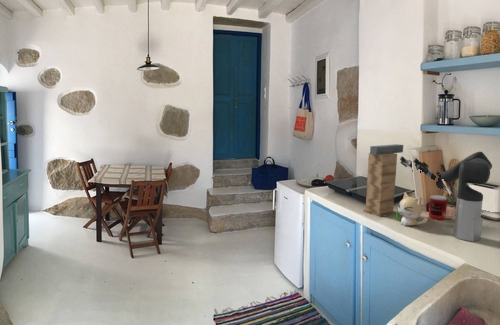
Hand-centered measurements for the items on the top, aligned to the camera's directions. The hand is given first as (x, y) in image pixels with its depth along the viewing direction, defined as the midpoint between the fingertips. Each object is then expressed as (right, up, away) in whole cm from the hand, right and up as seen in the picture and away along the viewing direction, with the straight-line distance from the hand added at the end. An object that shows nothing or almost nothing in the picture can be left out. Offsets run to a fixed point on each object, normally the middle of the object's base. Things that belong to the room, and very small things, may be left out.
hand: (407, 158), depth 188 cm
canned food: (+8, -31, -15) cm, 35 cm away
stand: (-18, -29, -6) cm, 35 cm away
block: (-15, +3, -9) cm, 18 cm away
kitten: (-11, -32, -25) cm, 42 cm away
